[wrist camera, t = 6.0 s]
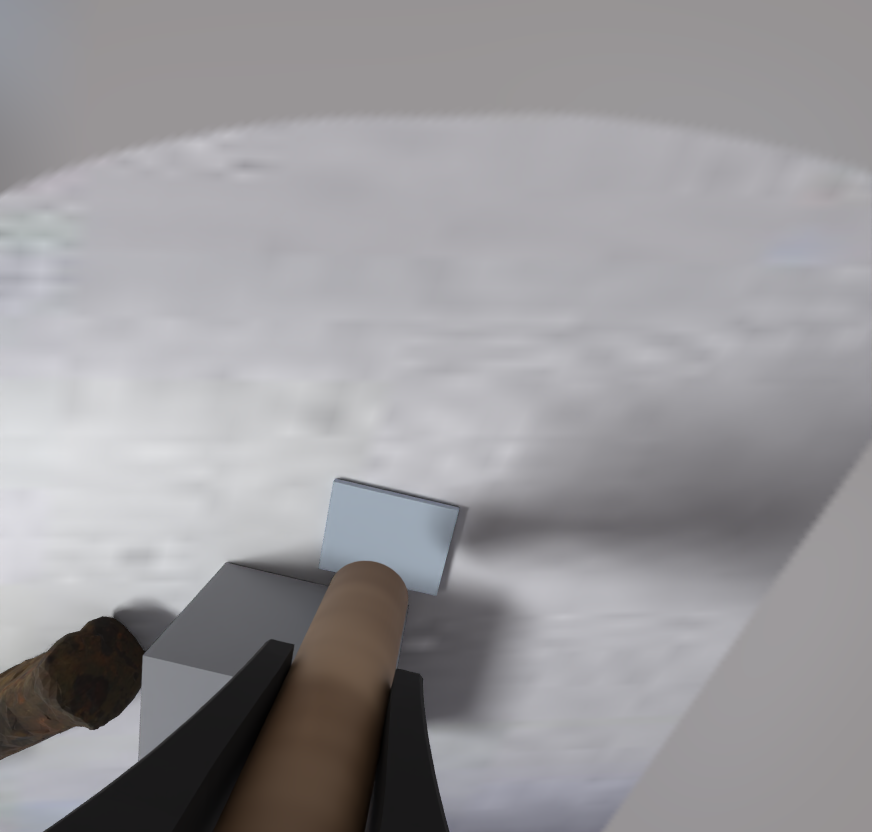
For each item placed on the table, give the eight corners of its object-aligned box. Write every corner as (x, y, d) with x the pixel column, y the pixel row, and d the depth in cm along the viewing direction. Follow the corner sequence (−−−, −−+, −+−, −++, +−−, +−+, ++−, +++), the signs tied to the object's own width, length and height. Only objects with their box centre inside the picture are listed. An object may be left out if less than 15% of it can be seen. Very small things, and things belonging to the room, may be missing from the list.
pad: (436, 591, 18) (436, 596, 18) (320, 564, 18) (318, 568, 18) (458, 507, 17) (458, 510, 17) (335, 478, 17) (333, 481, 17)
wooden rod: (399, 637, 15) (302, 1139, 6) (323, 619, 15) (114, 1095, 6) (415, 571, 14) (331, 1033, 5) (335, 552, 14) (118, 980, 5)
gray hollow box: (381, 728, 21) (356, 860, 16) (213, 688, 21) (136, 808, 16) (412, 606, 19) (393, 714, 14) (225, 562, 19) (142, 655, 14)
